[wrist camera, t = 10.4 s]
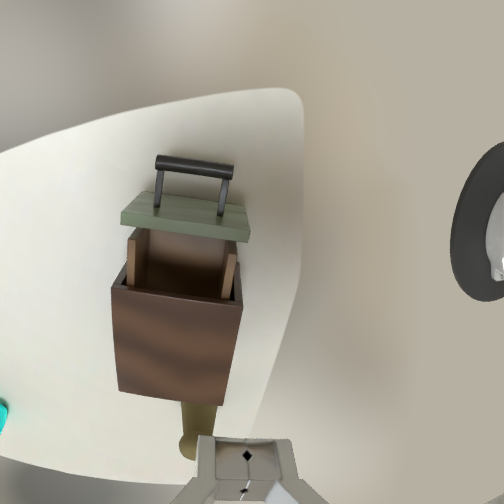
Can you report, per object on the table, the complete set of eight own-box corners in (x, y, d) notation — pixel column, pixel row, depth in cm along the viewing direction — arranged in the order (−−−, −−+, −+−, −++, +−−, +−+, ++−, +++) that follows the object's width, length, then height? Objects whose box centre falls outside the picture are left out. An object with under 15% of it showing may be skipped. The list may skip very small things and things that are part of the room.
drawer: (147, 146, 32) (125, 155, 25) (253, 161, 33) (261, 174, 26) (136, 297, 39) (120, 335, 32) (226, 310, 40) (226, 351, 33)
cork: (173, 393, 47) (166, 449, 37) (207, 384, 47) (206, 442, 37) (192, 415, 50) (188, 468, 39) (224, 406, 49) (225, 461, 39)
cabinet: (134, 247, 37) (110, 287, 28) (239, 262, 39) (243, 306, 30) (134, 342, 43) (118, 391, 34) (222, 354, 44) (222, 406, 36)
